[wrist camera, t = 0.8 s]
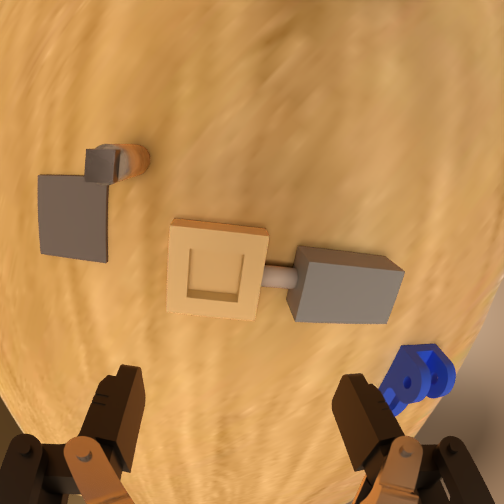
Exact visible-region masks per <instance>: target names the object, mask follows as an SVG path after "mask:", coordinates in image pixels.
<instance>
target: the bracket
mask: <svg viewBox="0 0 504 504" xmlns="http://www.w3.org/2000/svg"><path fill="white" fill-rule="evenodd" d="M455 378H456V372H455V368H454V365H453V363H452V362H451V361H450V360H449V358H448V357H447V356H446V355H445V354H444V353H443V352H442V351H441V350H440V348H439V347H438V346H437V345H436V344H421V345H401V347H400V349H399V351H398V353H397V355H396V357H395V359H394V361H393V363H392V365H391V367H390V369H389V371H388V373H387V374H386V376H385V378H384V380H383V382H382V383H381V385H380V387H379V389H378V390H380V391H381V393H382V395H383V397H384V398H385V400H386V401H385V402H387V404H388V405H389V407H390V408H389V409H391V411H392V413H393V415H394V416H397V415H398V414H399V413H401V412H402V411H403V410H404V409H405V408H406V406H407V405H408V404H410V403H415V402H419V401H421V400H423V399H424V398H425V397H426V396H428V397H429V398H438V397H442V396H445V395H447V394H448V393H449V392H450V391H451V390H452V388H453V386H454V383H455Z"/></svg>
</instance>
